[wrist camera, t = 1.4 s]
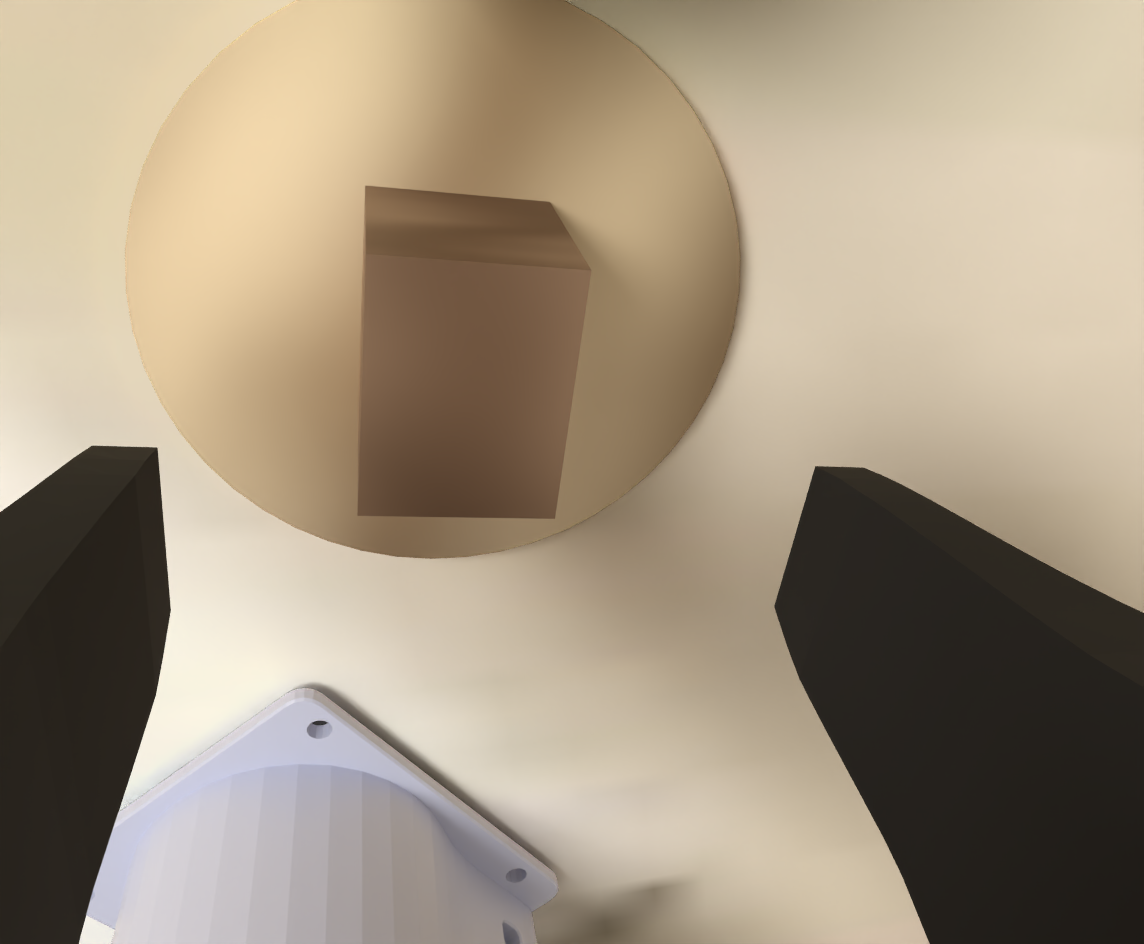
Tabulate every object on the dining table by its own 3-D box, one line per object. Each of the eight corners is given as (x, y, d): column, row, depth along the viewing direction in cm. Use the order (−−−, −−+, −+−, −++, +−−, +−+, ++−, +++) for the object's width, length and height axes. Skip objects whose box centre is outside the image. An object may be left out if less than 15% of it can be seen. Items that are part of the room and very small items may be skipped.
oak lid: (784, 14, 16) (906, 50, 13) (670, 538, 21) (734, 671, 18) (106, -80, 14) (14, -70, 10) (157, 533, 19) (109, 685, 15)
